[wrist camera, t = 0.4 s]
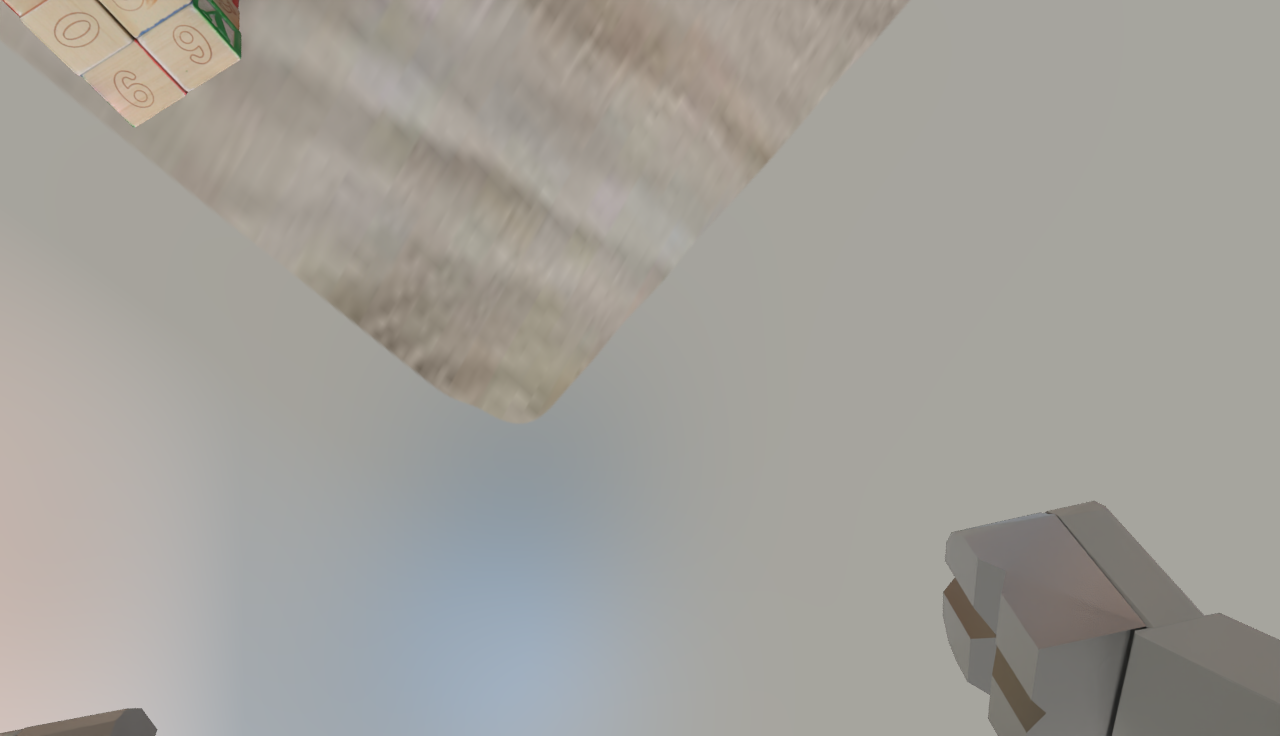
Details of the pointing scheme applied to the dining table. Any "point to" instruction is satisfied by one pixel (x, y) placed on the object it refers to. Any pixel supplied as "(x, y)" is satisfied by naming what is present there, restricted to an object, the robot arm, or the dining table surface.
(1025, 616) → the robot arm
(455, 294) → the dining table surface
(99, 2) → the stack of blocks
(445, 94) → the dining table surface
